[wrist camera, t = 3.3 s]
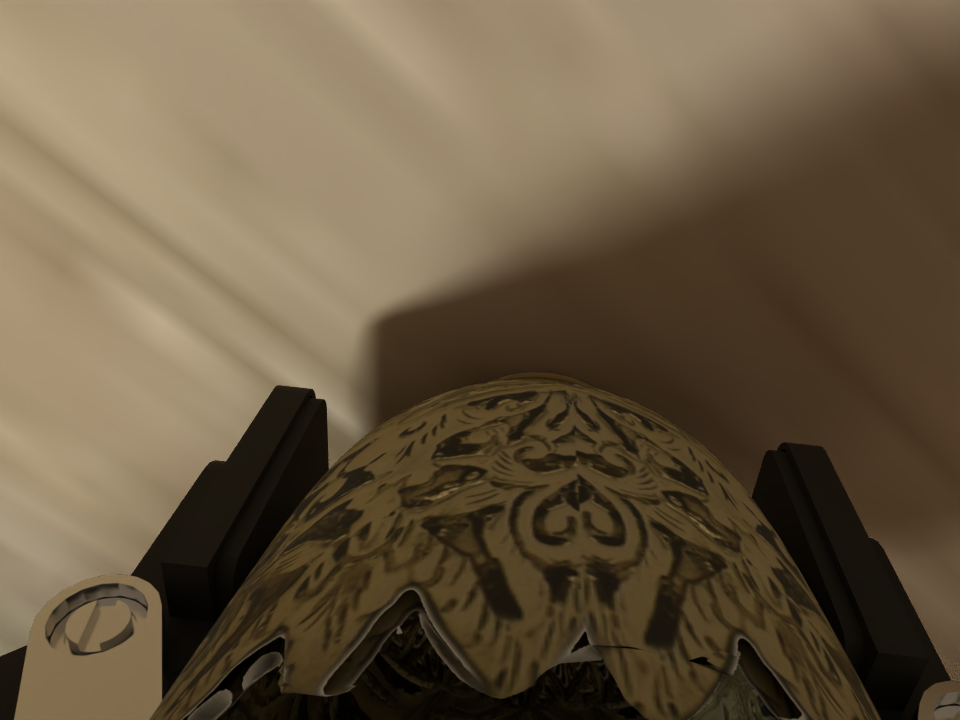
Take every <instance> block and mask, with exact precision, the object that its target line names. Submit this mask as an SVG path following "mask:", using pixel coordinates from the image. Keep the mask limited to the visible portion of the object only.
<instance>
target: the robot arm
mask: <svg viewBox="0 0 960 720" xmlns="http://www.w3.org/2000/svg"><path fill="white" fill-rule="evenodd" d="M328 471H329V467H328V433H327V406H326V401H325V400H324V399H316V396H315V392H314V390H313V389H307V388H298V387H290V386H281V385H278V386H276V387H275V388H274V389H273V391H272V392H271V394H270V395H269V397H268V398H267V400H266V402H265V403H264V405H263V406H262V408H261V409H260V411H259V412H258V414H257V415H256V417H255V418H254V420H253V421H252V423H251V424H250V426H249V427H248V429H247V431H246V432H245V434H244V435H243V437H242V438H241V440H240V441H239V443H238V444H237V446H236V447H235V449H234V450H233V452H232V453H231V455H230V457H229V458H228V460H227V461H226V462H224V461H216V460H215V461H212V462H210V463H209V464H208V465H207V466H206V467H205V468H204V470H203V471H202V473H201V474H200V476H199V477H198V479H197V480H196V481H195V483H194V484H193V486H192V487H191V489H190V490H189V492H188V493H187V495H186V496H185V498H184V499H183V500H182V502H181V503H180V505H179V506H178V508H177V509H176V511H175V512H174V514H173V515H172V516H171V518H170V519H169V521H168V522H167V524H166V525H165V527H164V528H163V530H162V531H161V532H160V534H159V535H158V537H157V538H156V540H155V541H154V543H153V544H152V546H151V547H150V548H149V550H148V551H147V553H146V554H145V556H144V557H143V559H142V560H141V562H140V563H139V564H138V566H137V567H136V569H135V570H134V572H133V573H132V575H131V576H128V575H122V574H117V575H104V576H98V577H95V578H91V579H87V580H84V581H81V582H79V583H77V584H75V585H73V586H71V587H68V588H66V589H64V590H63V591H61V592H60V593H59V594H57V595H56V596H55V597H53V598H52V599H51V600H49V601H48V602H47V603H46V604H45V606H44V607H43V608H42V609H41V610H40V612H39V613H38V614H37V615H36V617H35V620H34V622H33V625H32V627H31V630H30V634H29V640H28V645H26V646H24V647H22V648H19V649H17V650H15V651H12V652H10V653H8V654H5V655H3V656H1V657H0V720H149V719H150V718H151V716H152V715H153V713H154V712H155V710H156V709H157V708H158V706H159V705H160V703H161V702H162V700H163V699H164V697H165V696H166V694H167V693H168V691H169V690H170V688H171V687H172V685H173V684H174V682H175V681H176V679H177V678H178V677H179V675H180V674H181V672H182V671H183V669H184V668H185V666H186V665H187V663H188V662H189V660H190V659H191V657H192V656H193V655H194V653H195V652H196V650H197V649H198V647H199V646H200V644H201V643H202V641H203V640H204V638H205V637H206V636H207V634H208V633H209V631H210V630H211V628H212V627H213V625H214V624H215V622H216V621H217V620H218V618H219V617H220V615H221V614H222V612H223V611H224V609H225V608H226V607H227V605H228V604H229V602H230V601H231V599H232V598H233V597H234V595H235V594H236V592H237V591H238V589H239V588H240V587H241V585H242V584H243V582H244V581H245V579H246V578H247V576H248V575H249V574H250V572H251V571H252V569H253V568H254V566H255V565H256V564H257V562H258V561H259V559H260V558H261V556H262V555H263V554H264V552H265V551H266V549H267V548H268V547H269V545H270V544H271V542H272V541H273V539H274V538H275V537H276V535H277V534H278V532H279V531H280V530H281V528H282V527H283V525H284V524H285V523H286V521H287V520H288V519H289V518H290V516H291V515H292V514H293V512H294V511H295V510H296V508H297V507H298V506H299V504H300V503H301V502H302V500H303V499H304V498H305V497H306V496H307V494H308V493H309V492H310V491H311V490H312V489H313V487H314V486H315V485H316V484H317V483H318V482H319V481H320V479H321V478H322V477H323V476H324V475H325V474H326V473H327V472H328ZM752 499H753V501H754V502H755V503H756V505H757V506H758V507H759V509H760V510H761V512H762V513H763V514H764V516H765V517H766V519H767V520H768V522H769V523H770V524H771V526H772V527H773V529H774V530H775V532H776V533H777V534H778V536H779V537H780V539H781V541H782V542H783V544H784V546H785V547H786V549H787V551H788V552H789V554H790V556H791V557H792V559H793V560H794V562H795V564H796V565H797V567H798V569H799V570H800V572H801V574H802V576H803V578H804V579H805V581H806V583H807V585H808V586H809V588H810V590H811V592H812V593H813V595H814V597H815V599H816V601H817V602H818V604H819V606H820V608H821V609H822V611H823V613H824V615H825V617H826V618H827V620H828V622H829V624H830V626H831V627H832V629H833V631H834V633H835V635H836V636H837V638H838V640H839V642H840V644H841V646H842V647H843V649H844V651H845V653H846V655H847V657H848V658H849V660H850V662H851V664H852V666H853V667H854V669H855V671H856V673H857V675H858V677H859V679H860V680H861V682H862V684H863V686H864V688H865V690H866V692H867V693H868V695H869V697H870V699H871V701H872V703H873V705H874V706H875V708H876V710H877V712H878V714H879V716H880V718H881V720H960V682H959V681H951V679H950V677H949V675H948V673H947V672H946V670H945V668H944V666H943V664H942V662H941V660H940V658H939V656H938V654H937V652H936V650H935V648H934V646H933V644H932V642H931V640H930V639H929V637H928V635H927V633H926V631H925V629H924V627H923V625H922V623H921V621H920V619H919V617H918V615H917V613H916V611H915V609H914V607H913V605H912V604H911V602H910V600H909V598H908V596H907V594H906V592H905V590H904V588H903V586H902V584H901V582H900V580H899V578H898V576H897V574H896V572H895V571H894V569H893V567H892V565H891V563H890V561H889V559H888V557H887V555H886V553H885V551H884V549H883V548H882V546H881V545H880V544H879V542H878V541H876V540H874V539H872V538H869V537H868V535H867V533H866V531H865V529H864V527H863V525H862V523H861V521H860V519H859V517H858V515H857V513H856V511H855V509H854V507H853V505H852V503H851V501H850V499H849V497H848V495H847V493H846V491H845V489H844V487H843V485H842V483H841V481H840V479H839V477H838V475H837V473H836V471H835V469H834V467H833V465H832V463H831V461H830V459H829V457H828V455H827V453H826V451H825V450H824V448H823V447H820V446H813V445H804V444H795V443H787V442H784V443H782V444H781V445H780V446H779V447H778V450H777V451H774V450H768V451H767V452H766V454H765V456H764V459H763V462H762V465H761V469H760V472H759V475H758V479H757V482H756V485H755V489H754V492H753V495H752Z"/></svg>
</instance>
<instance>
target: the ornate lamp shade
mask: <svg viewBox="0 0 960 720" xmlns="http://www.w3.org/2000/svg"><path fill="white" fill-rule="evenodd" d="M149 720H881V718H880V716H879V714H878V712H877V710H876V708H875V706H874V705H873V703H872V701H871V699H870V697H869V695H868V693H867V692H866V690H865V688H864V686H863V684H862V682H861V680H860V679H859V677H858V675H857V673H856V671H855V669H854V667H853V666H852V664H851V662H850V660H849V658H848V657H847V655H846V653H845V651H844V649H843V647H842V646H841V644H840V642H839V640H838V638H837V636H836V635H835V633H834V631H833V629H832V627H831V626H830V624H829V622H828V620H827V618H826V617H825V615H824V613H823V611H822V609H821V608H820V606H819V604H818V602H817V601H816V599H815V597H814V595H813V593H812V592H811V590H810V588H809V586H808V585H807V583H806V581H805V579H804V578H803V576H802V574H801V572H800V570H799V569H798V567H797V565H796V564H795V562H794V560H793V559H792V557H791V556H790V554H789V552H788V551H787V549H786V547H785V546H784V544H783V542H782V541H781V539H780V537H779V536H778V534H777V533H776V532H775V530H774V529H773V527H772V526H771V524H770V523H769V522H768V520H767V519H766V517H765V516H764V514H763V513H762V512H761V510H760V509H759V507H758V506H757V505H756V503H755V502H754V501H753V499H752V498H751V497H750V495H749V494H748V492H747V491H746V490H745V488H744V487H743V486H742V485H741V484H740V483H739V482H738V481H737V479H736V478H735V477H734V476H733V475H732V474H731V473H730V472H729V470H728V469H727V468H726V467H725V466H724V465H723V464H722V463H721V462H720V461H719V460H718V459H717V458H716V457H715V456H714V455H713V454H712V453H711V452H710V451H709V450H708V449H707V448H706V447H704V446H703V445H702V444H701V443H699V442H698V441H697V440H696V439H695V438H693V437H692V436H691V435H690V434H688V433H687V432H685V431H684V430H682V429H681V428H679V427H678V426H676V425H674V424H673V423H671V422H670V421H668V420H667V419H665V418H664V417H662V416H660V415H659V414H657V413H656V412H654V411H652V410H650V409H648V408H646V407H644V406H642V405H640V404H638V403H636V402H634V401H631V400H629V399H626V398H623V397H621V396H618V395H615V394H613V393H610V392H607V391H603V390H599V389H596V388H595V387H593V386H591V385H589V384H587V383H585V382H582V381H580V380H577V379H574V378H571V377H568V376H564V375H559V374H553V373H544V372H526V373H518V374H512V375H508V376H504V377H500V378H498V379H495V380H492V381H489V382H486V383H478V384H474V385H470V386H466V387H462V388H457V389H453V390H451V391H448V392H445V393H442V394H439V395H436V396H434V397H431V398H429V399H427V400H425V401H423V402H421V403H418V404H416V405H414V406H412V407H410V408H408V409H406V410H404V411H402V412H400V413H398V414H396V415H395V416H393V417H392V418H390V419H389V420H387V421H385V422H384V423H382V424H381V425H379V426H377V427H376V428H375V429H373V430H372V431H371V432H370V433H368V434H367V435H366V436H365V437H364V438H362V439H361V440H360V441H359V442H357V443H356V444H355V445H354V446H353V447H352V448H351V449H350V450H349V451H348V452H346V453H345V454H344V455H343V456H342V457H341V458H340V459H339V460H338V461H337V462H336V463H335V464H334V465H333V466H332V467H331V468H330V469H329V471H328V472H327V473H326V474H325V475H324V476H323V477H322V478H321V479H320V481H319V482H318V483H317V484H316V485H315V486H314V487H313V489H312V490H311V491H310V492H309V493H308V494H307V496H306V497H305V498H304V499H303V500H302V502H301V503H300V504H299V506H298V507H297V508H296V510H295V511H294V512H293V514H292V515H291V516H290V518H289V519H288V520H287V521H286V523H285V524H284V525H283V527H282V528H281V530H280V531H279V532H278V534H277V535H276V537H275V538H274V539H273V541H272V542H271V544H270V545H269V547H268V548H267V549H266V551H265V552H264V554H263V555H262V556H261V558H260V559H259V561H258V562H257V564H256V565H255V566H254V568H253V569H252V571H251V572H250V574H249V575H248V576H247V578H246V579H245V581H244V582H243V584H242V585H241V587H240V588H239V589H238V591H237V592H236V594H235V595H234V597H233V598H232V599H231V601H230V602H229V604H228V605H227V607H226V608H225V609H224V611H223V612H222V614H221V615H220V617H219V618H218V620H217V621H216V622H215V624H214V625H213V627H212V628H211V630H210V631H209V633H208V634H207V636H206V637H205V638H204V640H203V641H202V643H201V644H200V646H199V647H198V649H197V650H196V652H195V653H194V655H193V656H192V657H191V659H190V660H189V662H188V663H187V665H186V666H185V668H184V669H183V671H182V672H181V674H180V675H179V677H178V678H177V679H176V681H175V682H174V684H173V685H172V687H171V688H170V690H169V691H168V693H167V694H166V696H165V697H164V699H163V700H162V702H161V703H160V705H159V706H158V708H157V709H156V710H155V712H154V713H153V715H152V716H151V718H150V719H149Z"/></svg>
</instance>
